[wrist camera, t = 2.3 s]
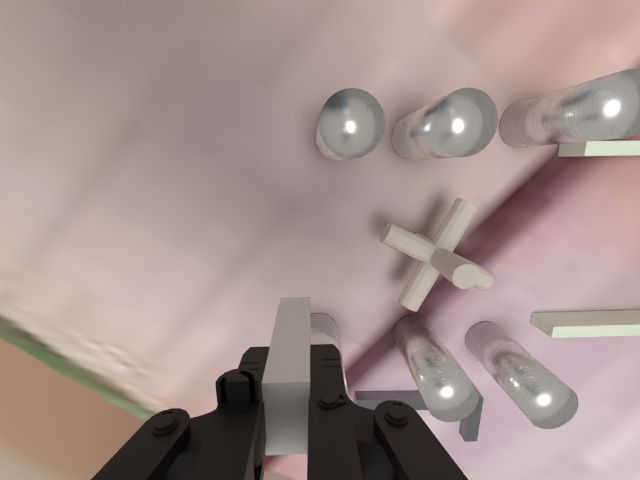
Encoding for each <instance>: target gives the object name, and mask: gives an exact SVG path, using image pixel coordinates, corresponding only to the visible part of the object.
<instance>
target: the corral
mask: <svg viewBox="0 0 640 480" xmlns="http://www.w3.org/2000/svg"><path fill="white" fill-rule="evenodd" d="M578 156H640V141H587V142H575V143H563V144H559V150H558V156H557V157H578ZM531 323H532V324H533V325H534V326H536V327H537V328H539V329H540V330H541V331H543V332H544V333H545V334H547V335H548V336H550V337H551V338H562V337H597V336H632V335H640V310H617V311H579V312H540V313H532V318H531Z"/></svg>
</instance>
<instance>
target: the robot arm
mask: <svg viewBox="0 0 640 480" xmlns="http://www.w3.org/2000/svg"><path fill="white" fill-rule="evenodd" d="M216 392H217V402H218V406H217V408H216V410H214V411H212V412H210V413H207V414H204V415H201V416H197V417H194V418H190V415H189V414H188V413H187V411H185V410H182V409H168V410H164V411H161V412H159V413H157V414H156V415H154V416H152V417H151V418H150V419H149V420H147V421H146V422H145V423H144V425H142V427H141V428H140V429H139V430H138V431H137V432H136V433H135V434H134V435H133V436H132V437H131V438H130V439H129V440H128V441H127V442H126V443H125V444H124V446H122V448H121V449H120V450H119V451H118V452H117V453H116V454H115V455H114V456H113V457H112V458H111V459H110V460H109V461H108V462H107V463H106V464H105V465H104V466H103V468H102V469H101V470H100V471H99V472H98V473H97V474H96V475H95V476H94V477H93V478H92V479H91V480H263V475H264V460H263V457H264V451H265V446H266V455H286V454H308V469H307V480H468V479H467V477H466V476H465V475H464V474H463V472H462V471H461V470H460V468H459V467H458V466H457V464H456V463H455V462H454V460H453V459H452V458H451V456H450V455H449V454H448V453H447V451H446V450H445V449H444V447H443V446H442V445H441V443H440V442H439V441H438V439H437V438H436V437H435V435H434V434H433V433H432V431H431V430H430V429H429V428H428V426H427V425H426V424H425V422H424V421H423V420H422V418H421V417H420V416H419V414H418V413H417V412H416V411H415V410H414V409H413V408H412V407H411V406H410V405H408V404H406V403H404V402H401V401H396V400H386V401H384V402H381V403H379V404H378V406H377V407H376V408H375V410H372V409H367V408H364V407H361V406H359V405H357V404H355V403H354V402H352V401H351V400H350V399H349V397H348V395H347V393H346V389H345V383H344V377H343V371H342V364H341V358H340V352H339V350H338V349H337V347H336V346H335V345H334V344H312V345H311V324H310V297H301V298H281V300H280V304H279V309H278V313H277V318H276V322H275V326H274V331H273V335H272V340H271V344H270V347H250V348H249V349H248V350H247V351H246V352H245V353H244V354H243V356H242V359H241V362H240V364H239V367H238V369H233V370H231V371H228V372H226V373H224V374H223V375H221V376H220V377H219V378H218V380H217V381H216Z"/></svg>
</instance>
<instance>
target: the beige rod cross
mask: <svg viewBox="0 0 640 480" xmlns="http://www.w3.org/2000/svg"><path fill="white" fill-rule="evenodd" d="M478 209H479V207H478V206H476V205H474V204H472V203H470V202H468V201H466V200H463V199H460V198H457V199H456V201H455V203H454V205H453V206H452V208H451V210H450V212H449V213H448V215H447V217H446V218H445V220H444V222H443V224H442V225H441V227H440V229H439V231H438V232H437V234H436V236H435V237H434V239H433V241H432V240H431V239H429V238H427V237H426V236H424V235H423V234H420V233H415V234H414V233H412V232H410V231H408V230H406V229H404V228H402V227H399V226H397V225H395V224H393V223H391V222H389V223H388V224H387V225H386V226H385V227H384V229H383V231H382V233H381V235H380V242H382V243H384V244H386V245H388V246H390V247H392V248H394V249H396V250H399V251H401V252H403V253H405V254H407V255H409V256H411V257H413V258H415V259H417V260H419V261H421V262H420V263H419V265H418V267H417V269H416V270H415V272H414V274H413V275H412V277H411V279H410V281H409V282H408V284H407V286H406V288H405V289H404V291H403V293H402V294H401V296H400V298H399V302H400V303H401V304H402V305H403V306H405V307H406V308H408V309H410V310H412V311H418V309H419V307H420V306H421V304H422V302H423V300H424V299H425V297H426V295H427V294H428V292H429V290H430V289H431V287H432V285H433V284H434V282H435V280H436V279H437V277H438V275H439V274H440V273H441V274H442V275H443V276H444V277H446V278H447V279H448V280H449V281H450V282H452V283H453V284H454V285H455V286H456V287H458V288H461V289H467V288H470V287H472V286H474V287H476V288H478V289H480V290H486V289H488V288H489V287H490V286H491V285H492V283H493V281H494V274H493V273H492V272H491V271H489V270H487V269H485V268H483V267H481V266H479V265H477V264H475V263H473V262H471V261H469V260H467V259H465V258H463V257H461V256H459V255H457V254H455V253H453V250H454V249H455V247H456V245H457V244H458V242H459V240H460V239H461V237H462V235H463V234H464V232H465V230H466V229H467V227H468V225H469V224H470V222H471V220H472V219H473V217H474V215H475V214H476V212H477V210H478Z"/></svg>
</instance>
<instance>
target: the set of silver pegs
mask: <svg viewBox="0 0 640 480" xmlns="http://www.w3.org/2000/svg"><path fill="white" fill-rule="evenodd" d="M497 123H498V114H497V109H496V106H495V104H494V102H493V101H492V99H491V98H490V97H489V96H488V95H487V94H486V93H485V92H483V91H481V90H479V89H475V88H462V89H459V90H456V91H454V92H452V93H450V94H448V95H446V96H444V97H442V98H440V99H438V100H436V101H434V102H432V103H430V104H428V105H427V106H425V107H423V108H421V109H419V110H417V111H415V112H413V113H411V114H409V115H407V116H405V117H403V118H402V119H400V120H399V121H398V122H397V124H396V125H395V127H394V129H393V132H392V145H393V148H394V150H395V151H396V152H397V154H398V155H400V156H401V157H403V158H405V159H411V160H413V159H432V158H451V157H467V156H471V155H474V154H476V153H478V152H480V151H481V150H483V149H484V148H485V147H486V146H487V145H488V144H489V142H490V141H491V140H492V138H493V136H494V134H495V132H496V128H497ZM384 124H385V123H384V114H383V110H382V108H381V106H380V104H379V103H378V101H377V100H376V99H375V98H374V97H373V96H372V95H371V94H369V93H368V92H366V91H363V90H361V89H354V88H350V89H344V90H341V91H339V92H337V93H335V94H334V95H332V96H331V97H330V98H329V99H328V100H327V102H326V103H325V104H324V106H323V108H322V110H321V113H320V117H319V122H318V127H317V132H316V144H317V147H318V149H319V151H320V152H321V153H322V154H323V155H324V156H325V157H327V158H329V159H331V160H345V159H351V158H357V157H361V156H364V155H366V154H368V153H369V152H370V151H372V150H373V149H374V148H375V147H376V146H377V144H378V143H379V141H380V139H381V137H382V135H383V131H384ZM499 132H500V136H501V138H502V139H503V141H504V142H505V143H506V144H508V145H509V146H512V147H528V146H539V145H551V144H563V143H575V142H587V141H599V140H611V139H622V138H628V137H631V136H634V135H636V134H638V133H639V132H640V69H629V70H625V71H621V72H618V73H615V74H611V75H608V76H605V77H601V78H598V79H595V80H591V81H588V82H585V83H581V84H578V85H575V86H571V87H568V88H565V89H561V90H558V91H555V92H551V93H548V94H545V95H541V96H538V97H535V98H531V99H528V100H525V101H521V102H518V103H515V104H513V105H511V106H510V107H509V108H508V109H507V110H506V111H505V112H504V113H503V115H502V117H501V120H500V124H499ZM310 324H311V345H312V344H334V345H335V346H336V347H337V349H338V350H339V352H340V358H341V364H342V371H343V377H344V383H345V389H346V393H347V395H348V389H347V383H346V377H345V371H344V366H343V360H342V354H341V348H340V342H339V336H338V330H337V325H336V323H335V321H334V320H333V319H332V318H331V317H330V316H328V315H326V314H323V313H315V314H311V315H310ZM393 337H394V340H395V342H396V344H397V346H398V348H399V350H400V352H401V354H402V356H403V358H404V360H405V362H406V365H407V367H408V369H409V371H410V373H411V375H412V377H413V379H414V381H415V383H416V385H417V387H418V389H419V391H420V393H421V396H422V398H423V400H424V402H425V404H426V406H427V408H428V410H429V412H430V413H431V415H432V416H433V417H435V418H436V419H438V420H441V421H445V422H455V421H459V420H461V419H464V418H465V417H467V416H468V415H470V414H471V413H472V412H473V411H474V409H475V408H476V406H477V403H478V400H479V394H478V390H477V388H476V387H475V385H474V384H473V382H472V381H471V380H470V378H469V377H468V376H467V374H466V373H465V372H464V370H463V369H462V368H461V366H460V365H459V364H458V362H457V361H456V360H455V358H454V357H453V356H452V354H451V353H450V352H449V350H448V349H447V348H446V346H445V345H444V344H443V342H442V341H441V340H440V338H439V337H438V336H437V334H436V333H435V332H434V330H433V329H432V328H431V326H430V325H429V324H428V322H427V321H426V320H425V319H424V318H422V317H420V316H417V315H409V316H405V317H403V318H401V319H400V320H399V321H398V322H397V323H396V325H395V326H394V329H393ZM465 342H466V346H467V348H468V349H469V350H470V351H471V353H472V354H473V355H474V356H475V357H476V358H477V360H478V361H479V362H480V363H481V364H482V365H483V367H484V368H485V369H486V370H487V371H488V372H489V374H490V375H491V376H492V377H493V378H494V379H495V380H496V382H497V383H498V384H499V385H500V386H501V387H502V389H503V390H504V391H505V392H506V393H507V394H508V396H509V397H510V398H511V399H512V400H513V401H514V403H515V404H516V405H517V406H518V407H519V408H520V409H521V411H522V412H523V413H524V414H525V415H526V416H527V418H528V419H529V420H530V421H531V422H532V423H533V424H534V425H535V426H537V427H539V428H544V429H552V428H557V427H560V426H562V425H564V424H565V423H567V422H568V421H569V420H570V419H571V418H572V417H573V416H574V415H575V413H576V411H577V408H578V397H577V395H576V393H575V392H574V391H573V390H572V389H571V388H569V387H568V386H567V385H566V384H565V383H564V382H562V381H561V380H560V379H559V378H558V377H557V376H555V375H554V374H553V373H552V372H551V371H550V370H548V369H547V368H546V367H545V366H544V365H543V364H541V363H540V362H539V361H538V360H537V359H536V358H534V357H533V356H532V355H531V354H530V353H529V352H527V351H526V350H525V349H524V348H523V347H522V346H520V345H519V344H518V343H517V342H516V341H515V340H513V339H512V338H511V337H510V336H509V335H508V334H506V333H505V332H504V331H503V330H502V329H501V328H499V327H498V326H497V325H496V324H494V323H492V322H480V323H477V324H475V325H474V326H473V327H471V328H470V329H469V331H468V332H467V334H466V338H465ZM348 397H349V395H348Z"/></svg>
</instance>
